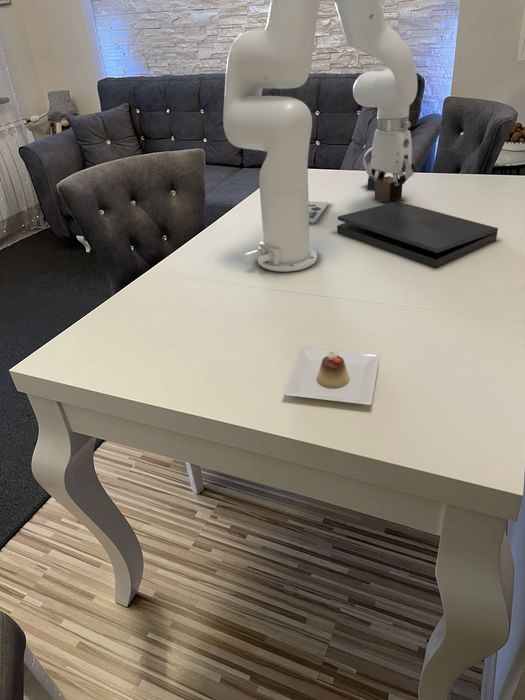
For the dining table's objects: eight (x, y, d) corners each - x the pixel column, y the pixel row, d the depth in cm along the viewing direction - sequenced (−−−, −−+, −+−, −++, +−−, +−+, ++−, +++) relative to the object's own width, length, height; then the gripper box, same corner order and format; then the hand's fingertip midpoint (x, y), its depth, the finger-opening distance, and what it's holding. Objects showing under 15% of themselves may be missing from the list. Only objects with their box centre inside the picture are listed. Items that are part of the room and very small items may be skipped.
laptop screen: (436, 253, 103) (437, 249, 103) (337, 220, 123) (337, 216, 122) (497, 232, 113) (498, 228, 113) (396, 204, 133) (396, 200, 132)
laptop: (435, 268, 105) (436, 259, 104) (337, 232, 124) (337, 225, 123) (496, 240, 114) (497, 231, 113) (395, 211, 134) (396, 204, 133)
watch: (390, 190, 149) (392, 149, 143) (361, 190, 151) (362, 149, 145) (391, 184, 153) (393, 144, 147) (363, 184, 155) (364, 144, 149)
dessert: (371, 411, 70) (372, 381, 67) (282, 400, 73) (280, 372, 71) (379, 360, 80) (381, 333, 77) (300, 353, 83) (299, 326, 80)
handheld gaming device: (329, 201, 142) (315, 220, 130) (329, 204, 142) (315, 223, 130) (297, 200, 144) (280, 219, 133) (297, 203, 145) (280, 222, 133)
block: (388, 202, 139) (389, 183, 136) (374, 198, 142) (375, 179, 140) (401, 198, 141) (403, 179, 139) (387, 194, 145) (388, 176, 142)
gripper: (430, 125, 128) (423, 201, 137) (377, 118, 140) (374, 188, 149) (409, 130, 124) (403, 207, 134) (356, 123, 136) (354, 194, 146)
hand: (387, 196), depth 142 cm, fingers closed on block, 5 cm apart
